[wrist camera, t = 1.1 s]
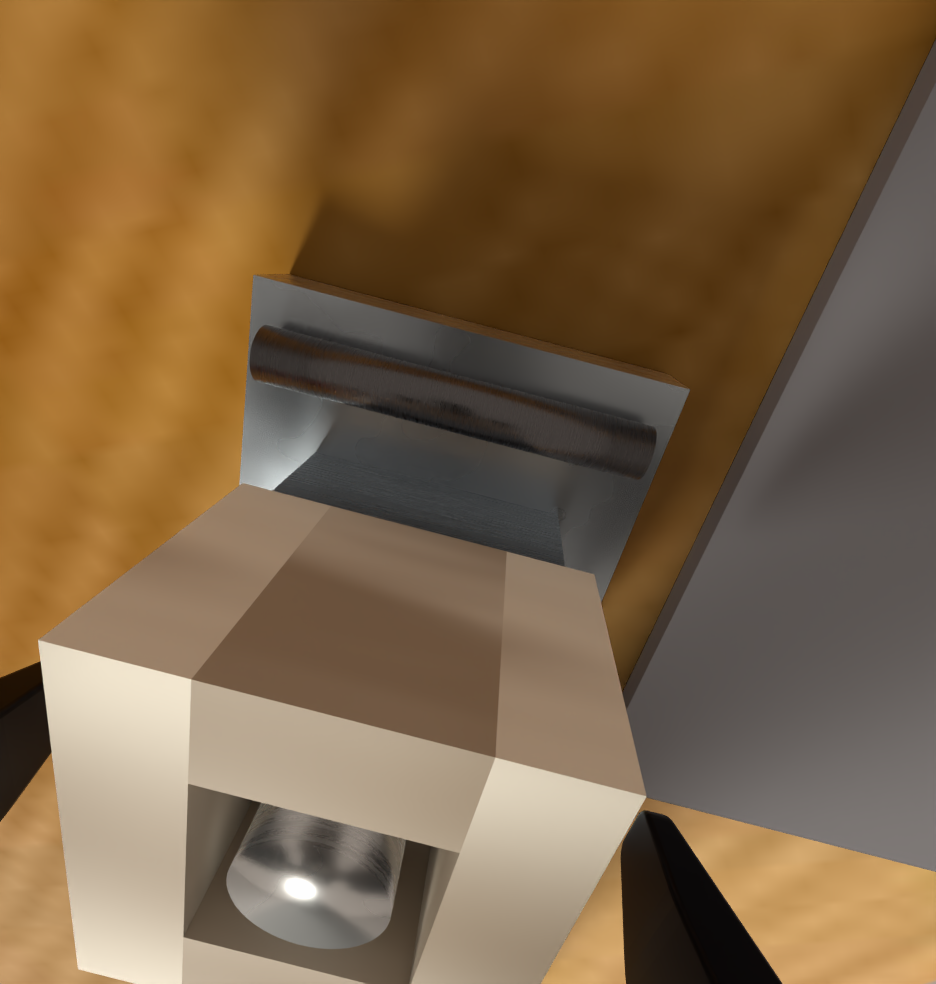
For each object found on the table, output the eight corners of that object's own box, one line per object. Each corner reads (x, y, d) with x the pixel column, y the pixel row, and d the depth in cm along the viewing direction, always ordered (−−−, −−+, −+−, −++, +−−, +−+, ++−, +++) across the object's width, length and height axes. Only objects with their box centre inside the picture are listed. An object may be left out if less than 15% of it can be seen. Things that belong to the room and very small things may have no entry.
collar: (500, 808, 11) (489, 1073, 7) (224, 737, 11) (77, 968, 7) (594, 574, 9) (646, 797, 5) (242, 483, 9) (38, 639, 5)
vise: (511, 770, 16) (502, 1169, 9) (248, 702, 15) (30, 1049, 9) (669, 373, 11) (929, 563, 4) (288, 273, 11) (-136, 284, 4)
